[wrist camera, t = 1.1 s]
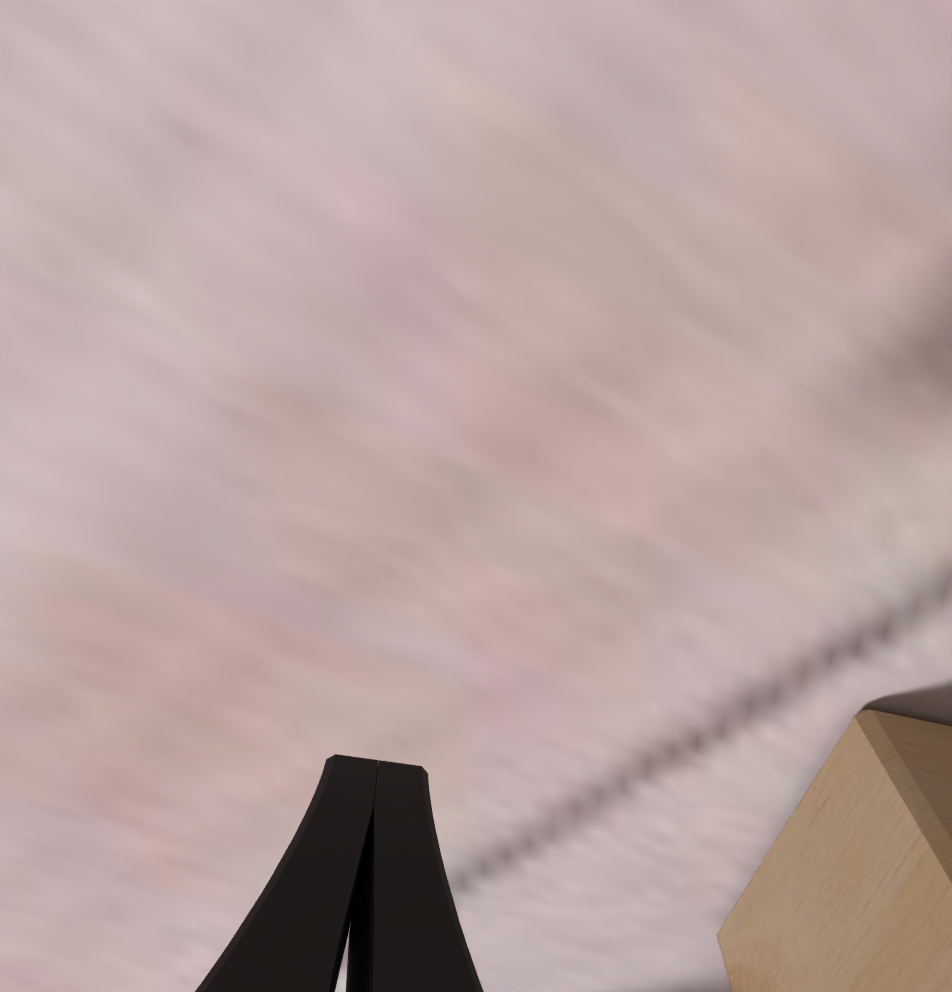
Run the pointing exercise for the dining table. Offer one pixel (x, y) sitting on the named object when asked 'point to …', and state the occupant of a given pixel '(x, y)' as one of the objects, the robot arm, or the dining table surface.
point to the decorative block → (856, 872)
